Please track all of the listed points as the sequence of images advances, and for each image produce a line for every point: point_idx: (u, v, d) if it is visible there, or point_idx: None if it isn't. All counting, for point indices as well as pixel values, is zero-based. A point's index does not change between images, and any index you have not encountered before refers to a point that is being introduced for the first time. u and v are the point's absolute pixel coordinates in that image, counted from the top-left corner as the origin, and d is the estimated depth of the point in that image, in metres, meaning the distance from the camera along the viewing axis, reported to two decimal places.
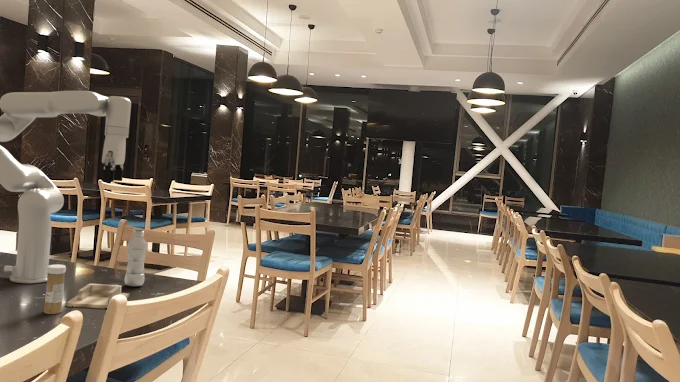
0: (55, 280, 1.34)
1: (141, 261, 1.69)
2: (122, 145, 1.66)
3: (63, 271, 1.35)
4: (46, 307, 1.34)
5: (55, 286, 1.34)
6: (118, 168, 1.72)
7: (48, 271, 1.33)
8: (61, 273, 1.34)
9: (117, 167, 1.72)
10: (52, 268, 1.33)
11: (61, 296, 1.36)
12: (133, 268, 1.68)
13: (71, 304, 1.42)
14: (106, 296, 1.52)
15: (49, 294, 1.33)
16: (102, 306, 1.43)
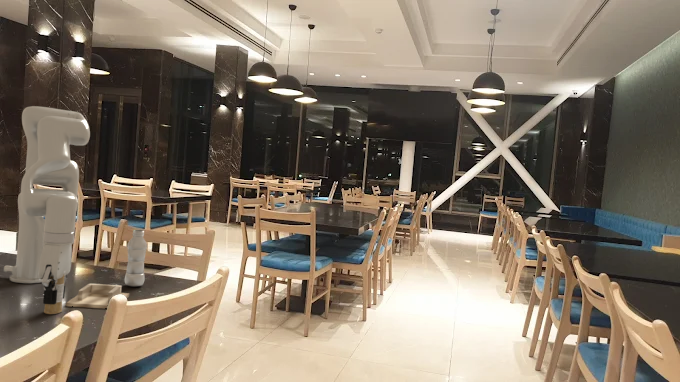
0: None
1: (141, 261, 1.69)
2: (65, 254, 1.34)
3: None
4: (46, 307, 1.34)
5: None
6: None
7: None
8: None
9: None
10: None
11: (61, 296, 1.36)
12: (133, 268, 1.68)
13: (71, 304, 1.42)
14: (106, 296, 1.52)
15: None
16: (102, 306, 1.43)
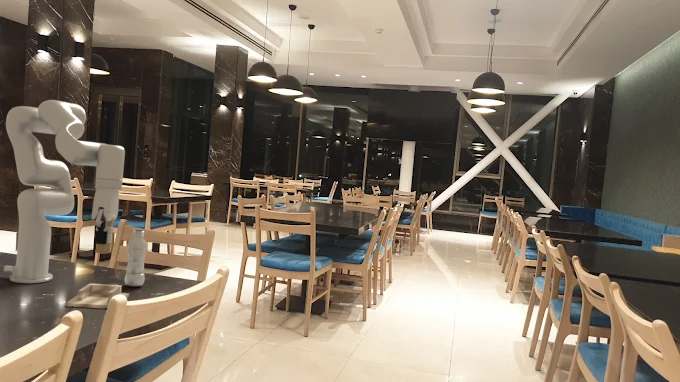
0: None
1: (141, 261, 1.69)
2: (114, 199, 1.48)
3: None
4: (97, 247, 1.47)
5: None
6: None
7: None
8: None
9: None
10: None
11: (110, 238, 1.49)
12: (133, 268, 1.68)
13: (71, 304, 1.42)
14: (106, 296, 1.52)
15: None
16: (102, 306, 1.43)
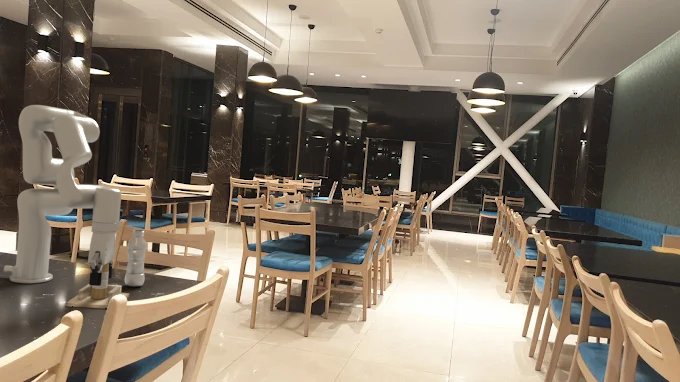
0: None
1: (141, 261, 1.69)
2: (111, 242, 1.48)
3: None
4: (93, 293, 1.48)
5: None
6: None
7: None
8: None
9: None
10: None
11: (106, 283, 1.50)
12: (133, 268, 1.68)
13: (71, 304, 1.42)
14: None
15: None
16: (102, 306, 1.43)
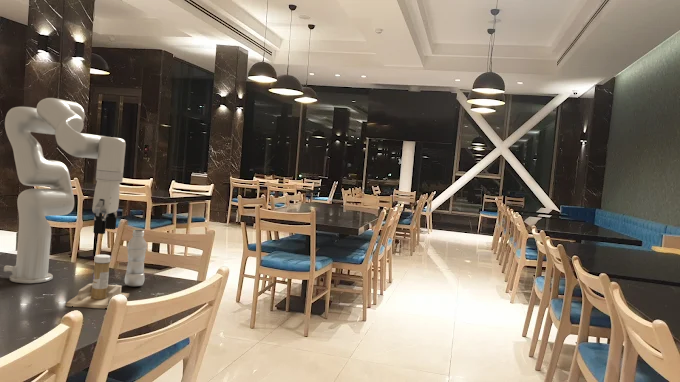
0: (101, 268, 1.48)
1: (141, 261, 1.69)
2: (115, 191, 1.47)
3: (108, 260, 1.49)
4: (93, 293, 1.48)
5: (101, 274, 1.48)
6: (111, 215, 1.53)
7: (95, 260, 1.47)
8: (107, 262, 1.49)
9: (110, 214, 1.54)
10: (99, 257, 1.47)
11: (106, 283, 1.50)
12: (133, 268, 1.68)
13: (71, 304, 1.42)
14: None
15: (96, 281, 1.47)
16: (102, 306, 1.43)
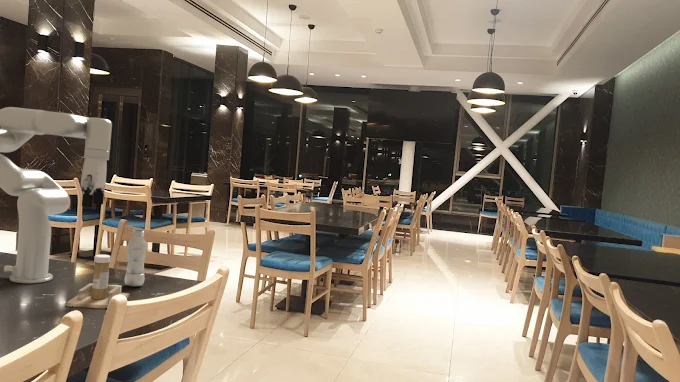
0: (101, 268, 1.48)
1: (141, 261, 1.69)
2: (102, 168, 1.60)
3: (108, 260, 1.49)
4: (93, 293, 1.48)
5: (101, 274, 1.48)
6: (99, 191, 1.66)
7: (95, 260, 1.47)
8: (107, 262, 1.49)
9: (98, 190, 1.66)
10: (99, 257, 1.47)
11: (106, 283, 1.50)
12: (133, 268, 1.68)
13: (71, 304, 1.42)
14: None
15: (96, 281, 1.47)
16: (102, 306, 1.43)
